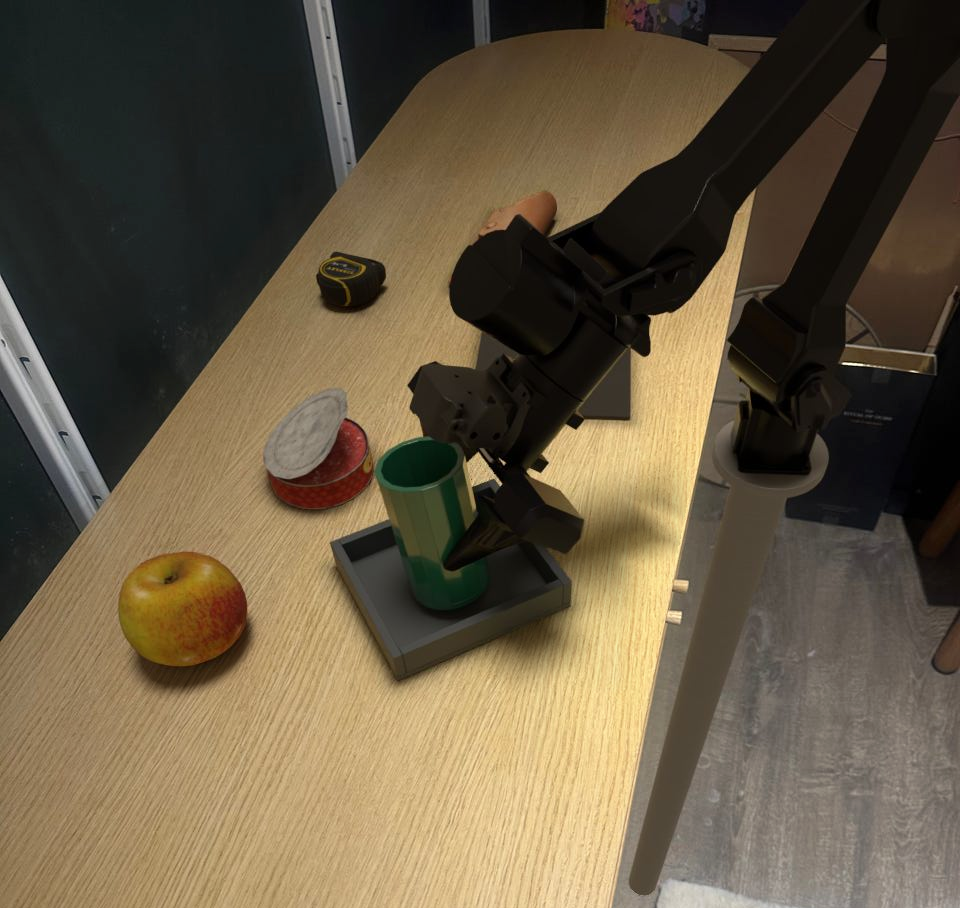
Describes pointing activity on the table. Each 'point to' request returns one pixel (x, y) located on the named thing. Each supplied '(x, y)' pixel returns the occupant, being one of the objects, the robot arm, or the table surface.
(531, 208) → the sunglasses case
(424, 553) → the cup
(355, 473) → the canned food
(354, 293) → the tape measure
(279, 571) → the table surface
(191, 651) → the fruit
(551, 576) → the tray
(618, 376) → the mat
